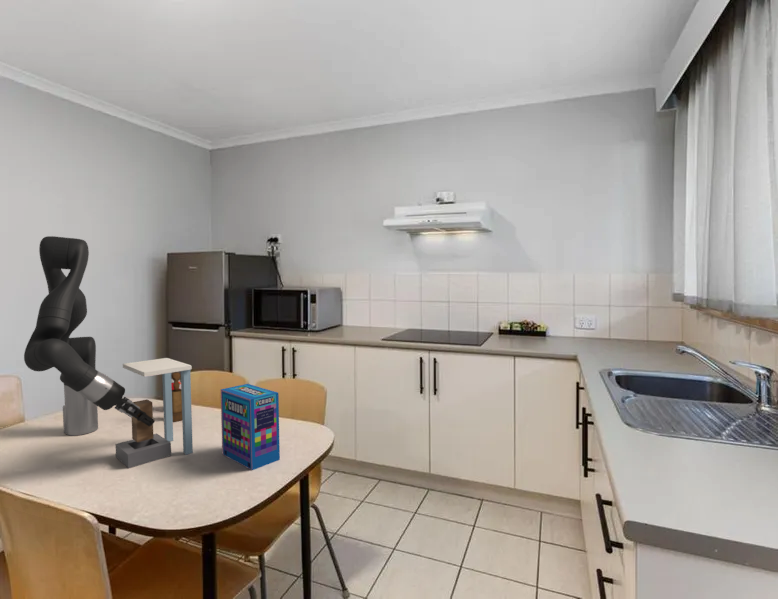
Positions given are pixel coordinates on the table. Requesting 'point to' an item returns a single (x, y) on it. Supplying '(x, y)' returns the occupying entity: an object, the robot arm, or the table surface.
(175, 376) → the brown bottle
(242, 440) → the box
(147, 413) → the walnut peg
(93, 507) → the table surface
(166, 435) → the two-legged side table
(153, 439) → the socket
